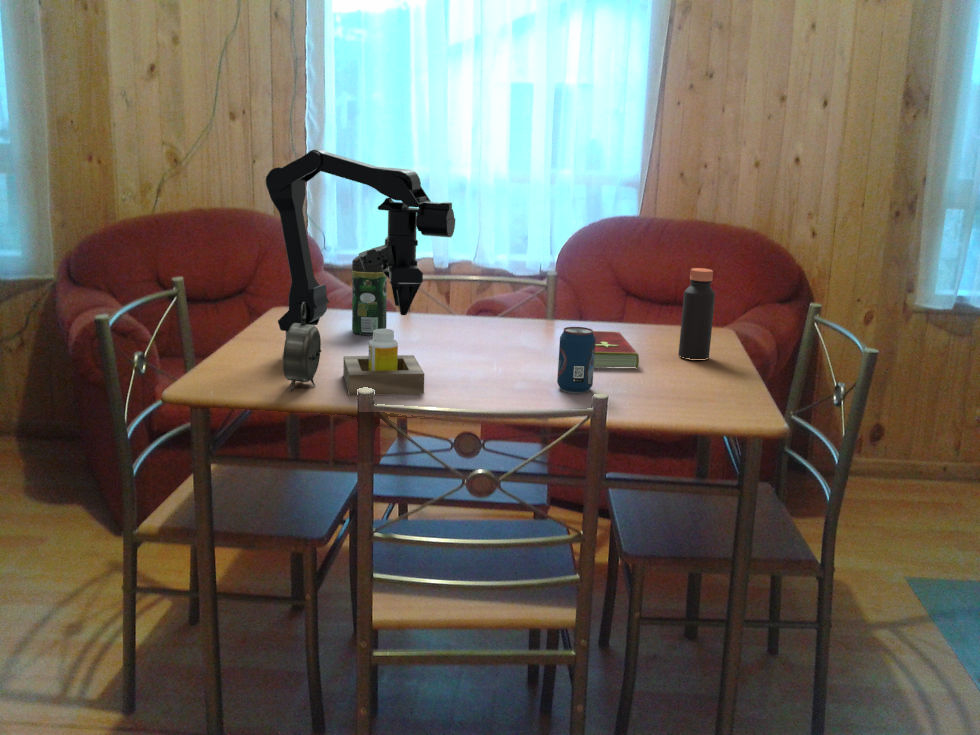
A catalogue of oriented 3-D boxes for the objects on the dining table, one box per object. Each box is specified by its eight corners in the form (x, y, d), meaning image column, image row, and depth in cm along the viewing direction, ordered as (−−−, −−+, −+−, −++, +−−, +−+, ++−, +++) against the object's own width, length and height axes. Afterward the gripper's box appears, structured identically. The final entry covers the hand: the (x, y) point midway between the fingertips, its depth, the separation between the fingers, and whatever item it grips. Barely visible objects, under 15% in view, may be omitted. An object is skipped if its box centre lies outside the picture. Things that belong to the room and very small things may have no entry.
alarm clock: (298, 377, 199) (297, 296, 194) (325, 379, 198) (325, 297, 194) (281, 392, 188) (280, 307, 184) (309, 394, 188) (309, 308, 183)
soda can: (554, 384, 202) (558, 325, 199) (589, 385, 202) (593, 326, 199) (559, 394, 195) (563, 333, 192) (594, 394, 195) (599, 334, 192)
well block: (343, 375, 201) (343, 356, 200) (413, 374, 204) (413, 355, 203) (349, 395, 188) (349, 374, 187) (423, 393, 191) (424, 373, 190)
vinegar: (672, 355, 229) (680, 267, 224) (695, 353, 232) (704, 266, 227) (690, 362, 223) (699, 272, 218) (715, 360, 226) (724, 271, 221)
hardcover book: (619, 348, 236) (620, 330, 235) (638, 371, 216) (639, 352, 215) (568, 346, 235) (569, 329, 234) (582, 370, 215) (583, 350, 214)
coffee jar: (356, 326, 245) (356, 249, 240) (388, 327, 244) (389, 251, 240) (348, 335, 235) (348, 255, 231) (382, 336, 235) (383, 257, 230)
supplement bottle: (403, 382, 196) (404, 331, 194) (381, 387, 192) (382, 335, 190) (384, 376, 200) (384, 326, 197) (362, 381, 196) (362, 330, 193)
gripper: (357, 227, 209) (357, 301, 213) (365, 239, 192) (364, 320, 196) (411, 228, 212) (409, 301, 216) (424, 240, 194) (422, 320, 198)
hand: (400, 310), depth 206 cm, fingers open, 9 cm apart
